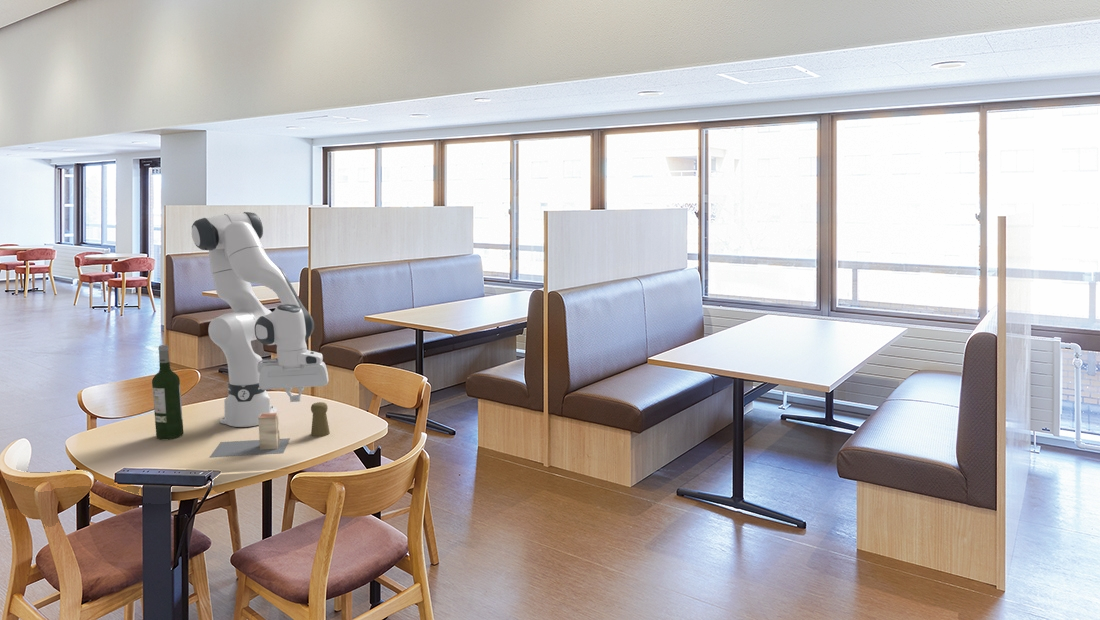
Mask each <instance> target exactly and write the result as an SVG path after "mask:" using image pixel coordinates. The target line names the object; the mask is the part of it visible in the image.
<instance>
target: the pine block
mask: <svg viewBox="0 0 1100 620" xmlns="http://www.w3.org/2000/svg"><path fill="white" fill-rule="evenodd" d="M258 423H259V425H258V436H259V437H258V440H260V450H262V449H277V448H278V446H279V444H280V439H281V438H280V423H279V412H277V413H261V415H260V416H259V418H258Z"/></svg>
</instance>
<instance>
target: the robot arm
mask: <svg viewBox="0 0 1100 620" xmlns="http://www.w3.org/2000/svg"><path fill="white" fill-rule="evenodd" d="M263 235H264V227H263V223H262V220H261V218H260V217H259V215H257V214H256V213H255V212H248V211H243V212H232V213H224V214H220V215H214V216H210V217H202V218H199V219H197V220H194V222H193V224H192V225H191V238H192V240H193V243H194V245H195V247H197V248H198V249H200V250H201V251H208V261H209V266H210V271H211V276H212V279H213V283H214V286H215V287H214V288H215V291H216V295H217V296H218V298H219V299H220V300H222V301H224V302H225V303H227V304H228V305H229V306H230V308H231V312H226V313H223V314H221V315H219V316H217V317H215V318H213V319H212V320H211V321H210V322H209V325H208V336H209V339H210V340H211V341H212V342H213V344H215V345H217V347H219V348H220V349H221V351H222V352H223V354H224V356H225V359H226V363H227V370H228V371H227V373H228V383H227V391H228V395H227V397H225V399H224V405H223V406H224V408H223V409H224V417H222V418H220V419H219V424H225V425H227V426H230V427H238V428H244V427H245V428H247V427H256V426H259V423H258V418H259V416H260V415H261V413H278V412H277V406H274V405H271V398H270V395H269V393H268V391H267V390H282V389H285V394H287V395H288V397H289V400H290V401H289V403H297V402H298V403H299V402H301V401H302V400H301V399H302V397H301V395H302V393H303V391H304V389H305V388H312V387H313V388H315V387H326V386H327V385H328V383H329V382H330V381H329V373H328V369H327V365H326V363H325V362H324V361H323V359H324V356H323V354H322V353H321V352H317V351H314V350H313V351H312V350H309V349H308V346H307V345H308V344H307V342H306V341H307V340H308V339H309V338H310V337H311V336H312V334H313V333H314V331H315V321H314V319H313V317H312V315H311V314H310V313H309V311H308V309H306V308H305V306H304V305H303V303H302V301H301V299H300V297H299V295H298V294H297V293H296V290H295V289H294V287H293V285H292V283H291V281H290V280H289V277H287V275H286V273H285V271H284V270H283V268H281V267H280V266H278V265H276V264H275V263H274V262H273V261H272V259H270V257H269V256H268V254H267V253H266V251H265V248H264V245H263V243H262V241H261V239H262V237H263ZM252 284H255V285H260V286H263V287H266V288H269V289H270V290H271V291H273V292H274V293H275V294H276V296H277V298H278V299H279V301H280V303H281V304H280V305H277V306H276V307H275V309H274V310H273V311H271V310H270V309H269V308H267V307H266V306H265V305H263V303H261V301H260V300H259V298H258V297H257V295H256V294H255V291H254V289H253V286H252ZM255 340H257V341H258V342H259V343H261V345H265V346H274V345H276V358H262V356H261V355H259V354H258V353H256V352H255V351H254V349H253V346H252V341H255ZM295 388H297V391H298V394H293V393H292V392H291V391H292V389H295Z"/></svg>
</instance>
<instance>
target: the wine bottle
mask: <svg viewBox="0 0 1100 620" xmlns="http://www.w3.org/2000/svg"><path fill="white" fill-rule="evenodd" d="M158 360H159V364H158V365H159V371H158V372H157V373H156V374H155V375H154V376H153V378H152V380H151V388H152V398H153V409H154V410H153V411H154V423H155V424H154V425H155V436H156V438H157V439H158V440H162V439H168V440H173V439H174V438H175V439H177V438H180V436H181V437H182V436H183V435H184V424H183V423H184V419H183V408H182V407H183V406H182V396H181V395H182V394H181V393H182V392H181V380H180V377H179V376H178V374H177V373H176V372H174V371H173V370H171V369H172V368H171V364H170V355H169V346H168V345H167V344H160V345H158Z"/></svg>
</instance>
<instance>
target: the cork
mask: <svg viewBox="0 0 1100 620" xmlns="http://www.w3.org/2000/svg"><path fill="white" fill-rule="evenodd" d="M310 411H311V414H312V420H311V432H310V435H311V436H312V437H314V438H319V437H326V436H329V435H330V433H331V431H330V427H329V426H330V425H329V422H328V416H327V412H328V404H327V403H326V402H321V401H319V402H314V403H313V404H312V405H311V407H310Z"/></svg>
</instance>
